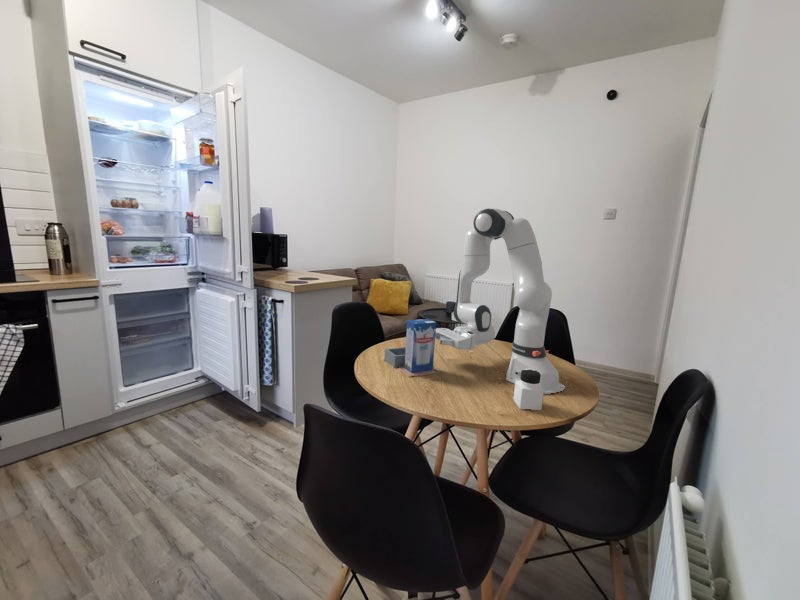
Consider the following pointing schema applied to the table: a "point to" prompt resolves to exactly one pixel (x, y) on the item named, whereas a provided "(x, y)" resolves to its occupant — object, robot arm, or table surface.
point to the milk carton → (420, 345)
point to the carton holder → (395, 357)
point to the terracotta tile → (415, 373)
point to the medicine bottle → (529, 390)
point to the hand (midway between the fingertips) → (434, 339)
